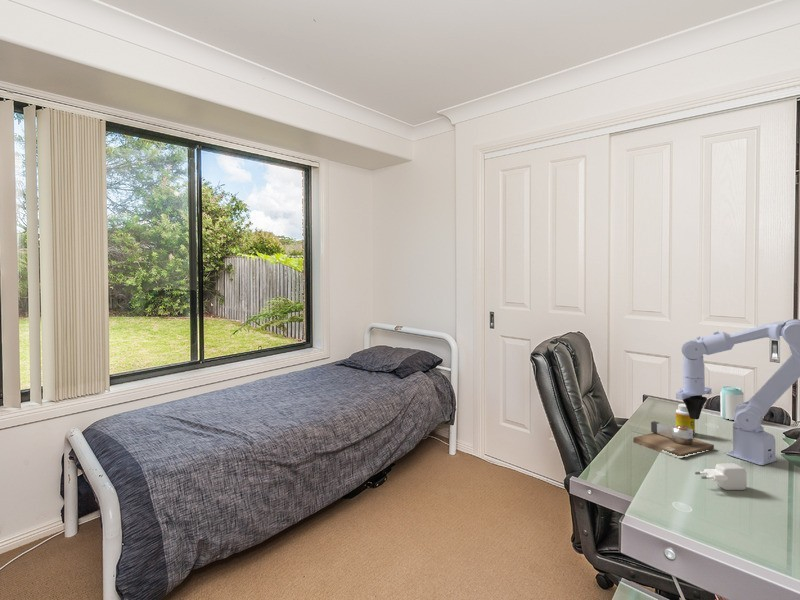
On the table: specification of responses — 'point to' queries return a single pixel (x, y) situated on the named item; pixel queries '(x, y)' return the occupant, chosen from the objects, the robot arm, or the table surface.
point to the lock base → (671, 444)
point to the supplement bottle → (684, 417)
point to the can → (730, 401)
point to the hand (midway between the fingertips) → (694, 418)
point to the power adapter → (727, 476)
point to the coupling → (674, 432)
